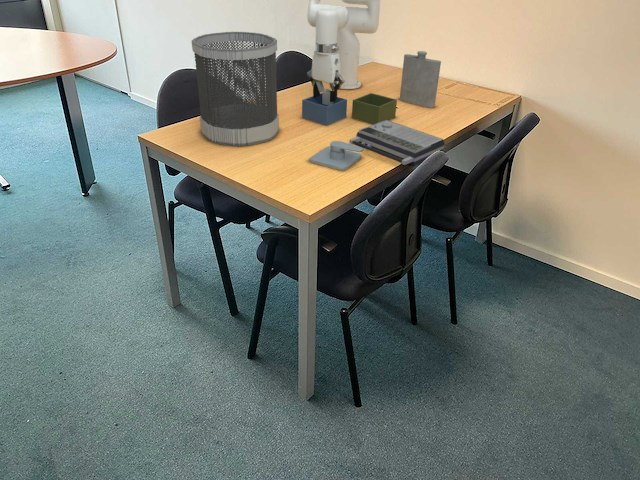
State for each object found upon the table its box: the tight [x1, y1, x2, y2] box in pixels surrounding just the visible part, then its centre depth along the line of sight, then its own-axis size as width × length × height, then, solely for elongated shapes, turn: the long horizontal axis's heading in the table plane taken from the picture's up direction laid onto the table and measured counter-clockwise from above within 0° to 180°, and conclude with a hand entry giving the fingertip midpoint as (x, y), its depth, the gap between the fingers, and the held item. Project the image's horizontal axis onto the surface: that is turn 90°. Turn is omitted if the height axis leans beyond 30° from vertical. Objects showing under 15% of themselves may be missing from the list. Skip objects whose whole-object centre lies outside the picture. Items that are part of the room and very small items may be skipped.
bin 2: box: [351, 92, 398, 125], centre depth 194 cm, size 12×12×7 cm
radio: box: [348, 120, 446, 167], centre depth 169 cm, size 24×5×20 cm
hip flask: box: [399, 50, 442, 109], centre depth 206 cm, size 16×4×20 cm, turn 49°
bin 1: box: [301, 92, 348, 127], centre depth 192 cm, size 12×12×7 cm
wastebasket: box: [191, 31, 280, 147], centre depth 173 cm, size 25×25×30 cm
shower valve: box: [309, 140, 365, 172], centre depth 161 cm, size 12×6×15 cm
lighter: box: [316, 81, 334, 106], centre depth 189 cm, size 7×2×8 cm, turn 51°
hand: (324, 98), depth 190 cm, fingers closed on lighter, 7 cm apart
